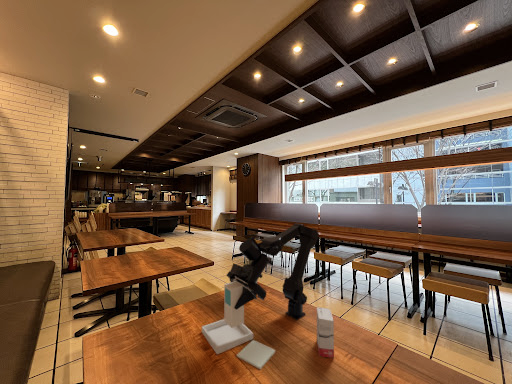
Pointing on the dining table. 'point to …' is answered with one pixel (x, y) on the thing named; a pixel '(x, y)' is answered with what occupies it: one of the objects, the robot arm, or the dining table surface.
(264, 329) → the dining table surface
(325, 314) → the ink box
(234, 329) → the parts tray
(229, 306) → the carton
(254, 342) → the board
